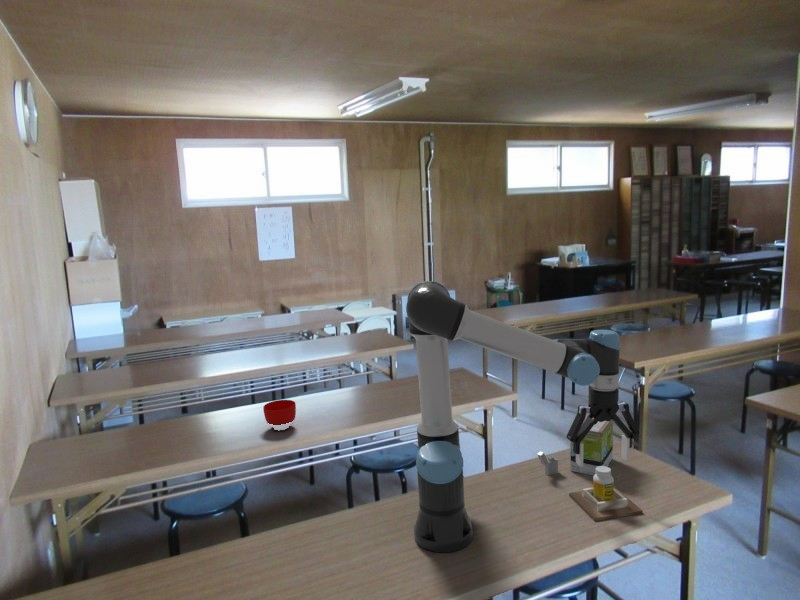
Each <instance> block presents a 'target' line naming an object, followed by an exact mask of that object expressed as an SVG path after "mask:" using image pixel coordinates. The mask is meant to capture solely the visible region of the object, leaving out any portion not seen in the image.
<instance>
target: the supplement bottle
mask: <svg viewBox="0 0 800 600" xmlns="http://www.w3.org/2000/svg"><path fill="white" fill-rule="evenodd" d="M592 480H593V481H592V484H593V485H592V487H593V491H594V497H595V498H596V499H597V500H598V501H599V502H603V501H609V500H614V487H615V485H614V483H615V482H614V481H615V480H614V477H613V476H612V469H611V468H610V467H608V466H607V467H606V466H598V467H596V474H595V475H593V478H592Z"/></svg>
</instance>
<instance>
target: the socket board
mask: <svg viewBox="0 0 800 600" xmlns="http://www.w3.org/2000/svg"><path fill="white" fill-rule="evenodd" d="M568 496H569V497H570V498H571V499H572V500H573V501H574V502H575V503H576V504H577V505H578V506H579V507H580V508H581V509H582V511H584V513H585V514H587V516H589V517H590V518H591V520H592V521H593V522H596V521H601V520H602V521H603V520H609V519H615V518H620V517H627V516H634V515H639V514H643V513H644V512H643V509H642V508H640V507H639V506H638V505H637V504H635V503H634V502H633V501H632V500H631V499H630V498H628V497H627V496H626V495H625V494H624V493H622V492H621V491H620V490H619V489H617V488H616V486H614V500H609V501H603V502H599V501H598V500H597V499H596V498H595V497H594V491H593V486H592V487H587V488H582V490H580V491H574V492H573V491H572V492H569V493H568Z"/></svg>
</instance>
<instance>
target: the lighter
mask: <svg viewBox="0 0 800 600" xmlns="http://www.w3.org/2000/svg"><path fill="white" fill-rule="evenodd" d="M536 455H537V457H538V458H539V461H540V463H541V464H542V465H544V475H546V476H548V477H549V476H552V475H555V474H557V473H559V460H558V458H556V457H555V456H552V455H550V456H548V457H546V454H545V453H544V452H543V451H539V452H538V453H537V454H536Z"/></svg>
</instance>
